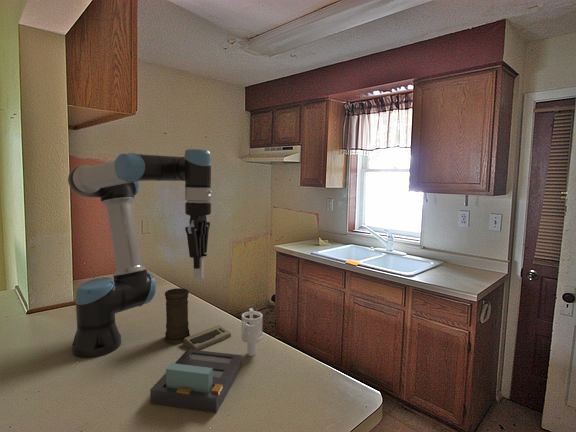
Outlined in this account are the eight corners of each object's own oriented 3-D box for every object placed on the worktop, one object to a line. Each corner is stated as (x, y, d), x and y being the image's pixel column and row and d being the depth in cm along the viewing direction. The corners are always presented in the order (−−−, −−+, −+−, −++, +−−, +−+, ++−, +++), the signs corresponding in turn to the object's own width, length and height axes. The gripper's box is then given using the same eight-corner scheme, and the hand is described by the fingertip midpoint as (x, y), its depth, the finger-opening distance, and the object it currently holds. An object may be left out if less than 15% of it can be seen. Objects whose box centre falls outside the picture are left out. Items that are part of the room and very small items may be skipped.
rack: (150, 403, 93) (150, 387, 93) (187, 360, 115) (187, 347, 114) (216, 413, 90) (216, 396, 90) (241, 367, 112) (242, 353, 111)
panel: (166, 396, 95) (166, 368, 94) (171, 390, 97) (171, 363, 97) (208, 402, 93) (208, 374, 92) (212, 395, 95) (212, 368, 95)
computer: (195, 353, 121) (195, 344, 120) (182, 345, 126) (182, 336, 125) (231, 338, 132) (231, 329, 132) (218, 331, 138) (218, 323, 137)
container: (176, 346, 124) (175, 297, 122) (159, 339, 129) (158, 292, 127) (195, 336, 132) (194, 290, 130) (178, 330, 136) (178, 286, 134)
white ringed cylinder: (260, 347, 125) (261, 307, 123) (263, 357, 118) (264, 315, 116) (240, 349, 123) (241, 308, 121) (242, 359, 116) (242, 316, 114)
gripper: (201, 203, 98) (201, 285, 100) (217, 200, 111) (217, 272, 113) (176, 202, 99) (177, 283, 102) (195, 199, 112) (196, 271, 114)
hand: (198, 277), depth 107 cm, fingers closed
